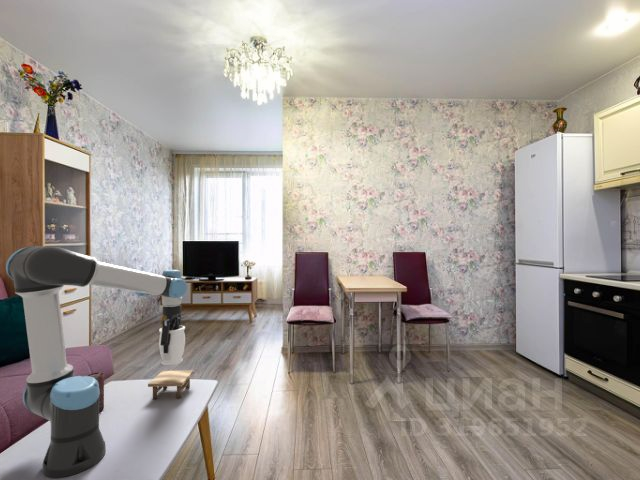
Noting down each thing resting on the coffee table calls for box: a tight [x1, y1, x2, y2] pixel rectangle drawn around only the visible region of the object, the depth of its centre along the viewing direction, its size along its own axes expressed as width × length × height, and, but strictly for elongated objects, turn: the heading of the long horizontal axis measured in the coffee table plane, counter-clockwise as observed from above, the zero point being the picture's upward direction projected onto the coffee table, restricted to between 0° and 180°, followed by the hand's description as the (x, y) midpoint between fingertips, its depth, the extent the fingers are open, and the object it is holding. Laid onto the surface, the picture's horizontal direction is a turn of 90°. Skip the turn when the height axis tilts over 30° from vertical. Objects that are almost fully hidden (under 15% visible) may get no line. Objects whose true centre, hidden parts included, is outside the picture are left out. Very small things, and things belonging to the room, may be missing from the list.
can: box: [87, 372, 105, 413], centre depth 127 cm, size 6×6×14 cm
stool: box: [147, 369, 195, 400], centre depth 142 cm, size 14×14×7 cm
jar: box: [158, 324, 186, 366], centre depth 143 cm, size 11×10×15 cm
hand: (172, 355), depth 143 cm, fingers closed on jar, 10 cm apart
